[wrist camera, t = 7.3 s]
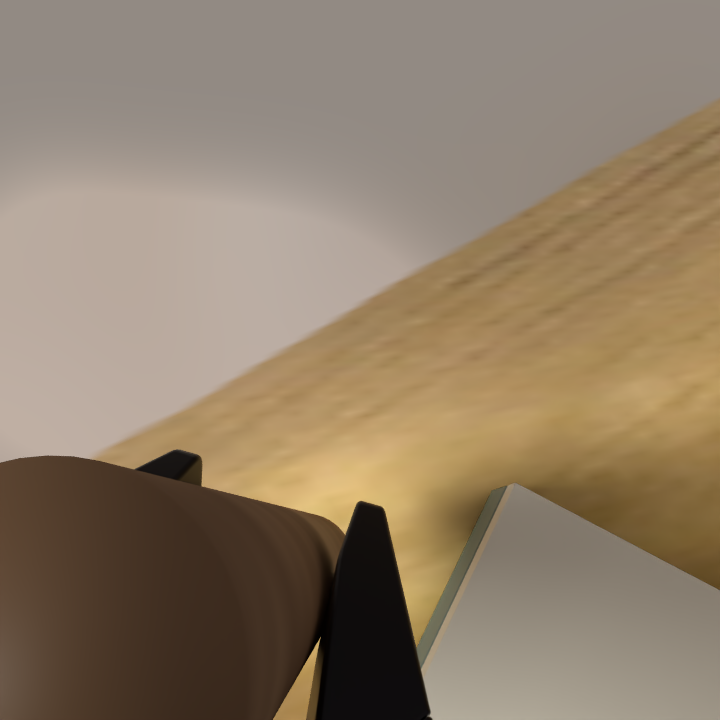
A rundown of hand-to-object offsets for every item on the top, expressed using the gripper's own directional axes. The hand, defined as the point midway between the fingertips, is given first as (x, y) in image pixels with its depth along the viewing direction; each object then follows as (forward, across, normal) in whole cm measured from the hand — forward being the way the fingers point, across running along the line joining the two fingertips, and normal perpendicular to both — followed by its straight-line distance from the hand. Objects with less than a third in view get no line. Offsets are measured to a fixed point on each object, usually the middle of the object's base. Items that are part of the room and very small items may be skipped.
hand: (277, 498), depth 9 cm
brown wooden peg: (+4, 0, +6) cm, 7 cm away
